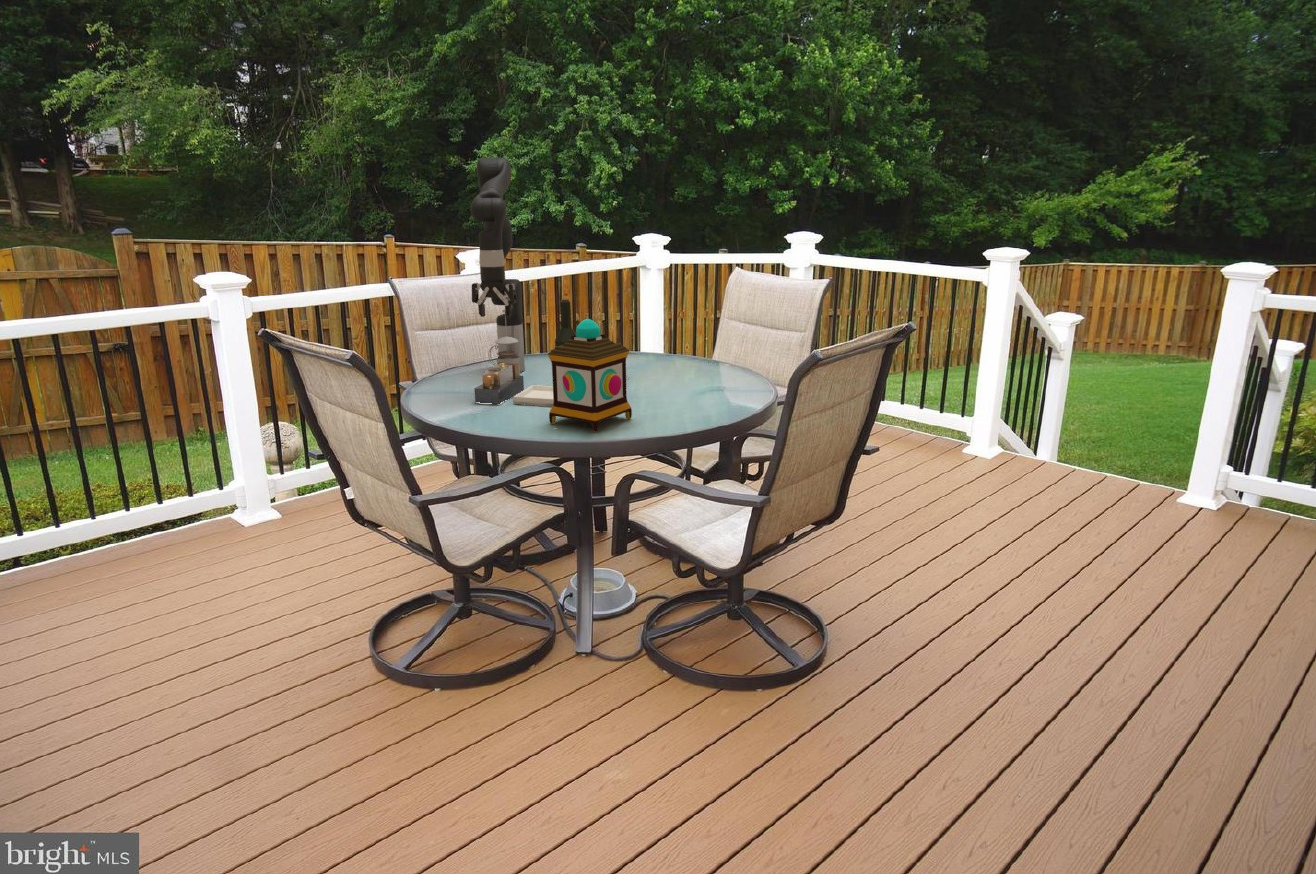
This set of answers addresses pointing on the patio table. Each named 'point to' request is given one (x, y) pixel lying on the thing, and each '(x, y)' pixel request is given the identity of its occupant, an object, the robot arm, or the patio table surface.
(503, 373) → the lever cap
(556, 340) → the wine bottle
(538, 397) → the tray
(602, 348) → the decorative lantern
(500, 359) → the french press
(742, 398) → the patio table surface
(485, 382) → the plane body
